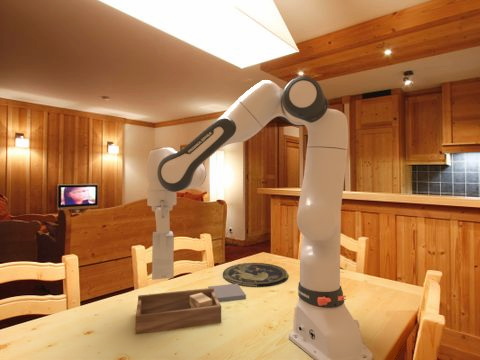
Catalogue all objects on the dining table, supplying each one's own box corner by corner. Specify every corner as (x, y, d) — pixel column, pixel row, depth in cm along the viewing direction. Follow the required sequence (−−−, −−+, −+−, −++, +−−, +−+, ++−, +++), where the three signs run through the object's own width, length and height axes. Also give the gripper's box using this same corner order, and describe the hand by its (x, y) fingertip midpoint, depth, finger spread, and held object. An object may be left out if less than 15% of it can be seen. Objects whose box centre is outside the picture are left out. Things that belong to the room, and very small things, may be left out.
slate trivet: (245, 298, 107) (245, 294, 107) (213, 302, 104) (213, 298, 104) (237, 287, 119) (237, 283, 119) (208, 290, 116) (208, 286, 116)
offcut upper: (212, 308, 93) (212, 299, 93) (199, 312, 91) (199, 303, 91) (201, 301, 99) (201, 292, 99) (189, 304, 96) (189, 295, 96)
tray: (221, 322, 90) (221, 302, 90) (135, 334, 83) (135, 313, 83) (213, 304, 102) (213, 287, 102) (138, 313, 96) (138, 295, 95)
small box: (173, 278, 88) (174, 235, 88) (151, 280, 86) (152, 236, 86) (172, 270, 96) (172, 230, 96) (152, 271, 94) (152, 231, 94)
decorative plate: (241, 259, 154) (296, 267, 140) (241, 263, 154) (296, 271, 140) (209, 277, 127) (274, 288, 114) (209, 281, 127) (274, 293, 114)
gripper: (174, 201, 82) (175, 250, 82) (170, 197, 102) (171, 237, 102) (151, 202, 80) (151, 252, 80) (152, 198, 100) (152, 238, 100)
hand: (162, 243), depth 91 cm, fingers closed on small box, 8 cm apart
